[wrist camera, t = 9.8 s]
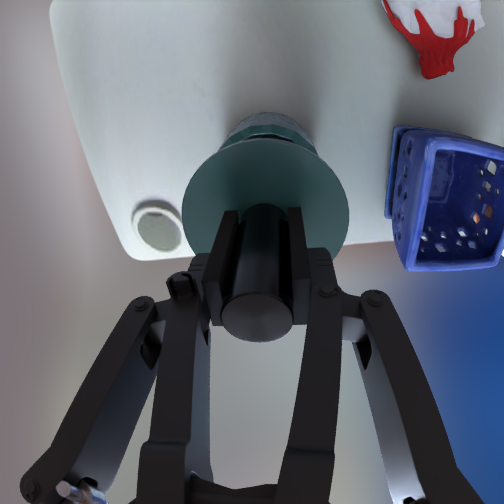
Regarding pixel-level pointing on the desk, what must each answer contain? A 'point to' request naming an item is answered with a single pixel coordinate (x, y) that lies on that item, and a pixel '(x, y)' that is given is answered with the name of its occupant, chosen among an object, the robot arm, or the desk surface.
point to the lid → (263, 226)
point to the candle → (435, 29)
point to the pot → (270, 130)
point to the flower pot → (444, 200)
